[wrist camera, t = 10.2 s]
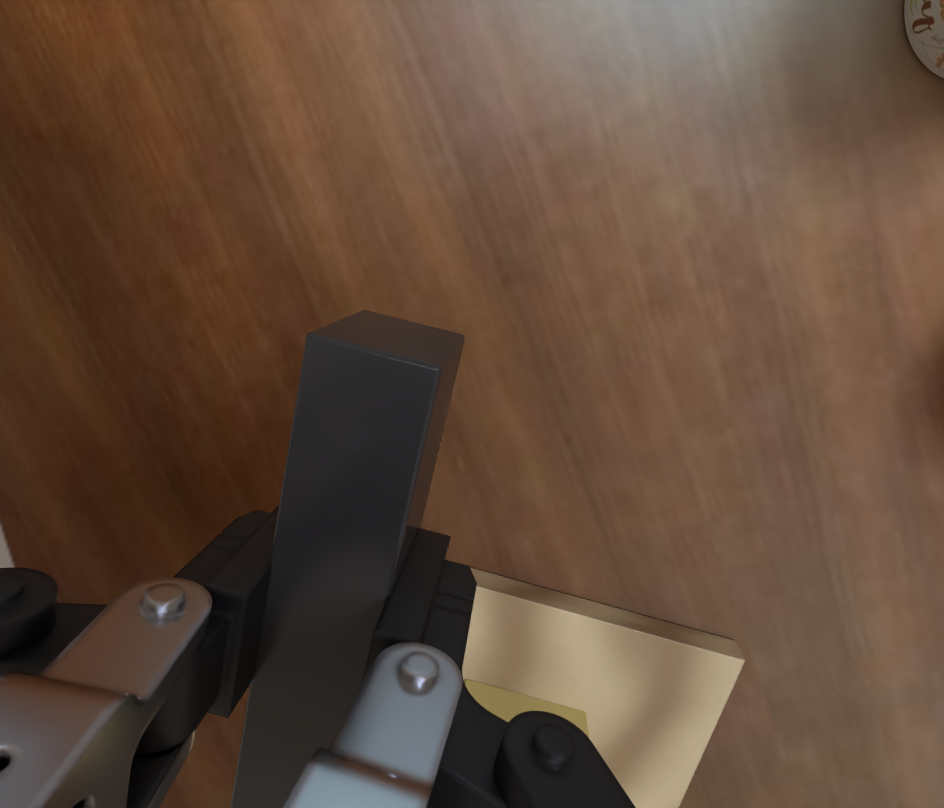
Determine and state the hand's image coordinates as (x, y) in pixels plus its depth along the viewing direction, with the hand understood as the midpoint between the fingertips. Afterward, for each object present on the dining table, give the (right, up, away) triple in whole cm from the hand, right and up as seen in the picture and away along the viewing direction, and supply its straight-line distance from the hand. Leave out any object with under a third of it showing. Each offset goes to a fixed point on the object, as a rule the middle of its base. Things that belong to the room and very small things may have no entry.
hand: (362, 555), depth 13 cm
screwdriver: (-1, -5, +2) cm, 5 cm away
